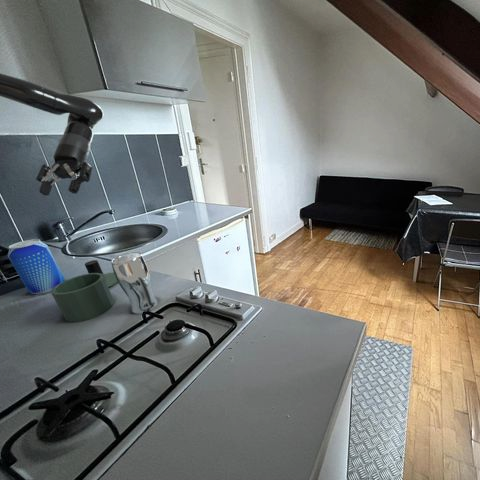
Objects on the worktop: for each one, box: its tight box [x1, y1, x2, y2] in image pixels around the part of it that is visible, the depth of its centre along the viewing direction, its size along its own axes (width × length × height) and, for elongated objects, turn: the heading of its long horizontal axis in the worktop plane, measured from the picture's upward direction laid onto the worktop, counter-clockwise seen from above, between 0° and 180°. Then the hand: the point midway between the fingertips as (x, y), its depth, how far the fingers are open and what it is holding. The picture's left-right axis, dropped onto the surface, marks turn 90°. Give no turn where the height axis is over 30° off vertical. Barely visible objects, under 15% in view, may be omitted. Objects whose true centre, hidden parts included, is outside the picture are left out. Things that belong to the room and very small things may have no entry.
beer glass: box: [110, 252, 159, 315], centre depth 68 cm, size 7×7×15 cm
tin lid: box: [84, 259, 118, 288], centre depth 82 cm, size 11×11×8 cm
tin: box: [50, 273, 115, 323], centre depth 70 cm, size 10×10×8 cm
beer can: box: [7, 238, 66, 297], centre depth 80 cm, size 8×8×16 cm
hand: (58, 193), depth 79 cm, fingers open, 8 cm apart
